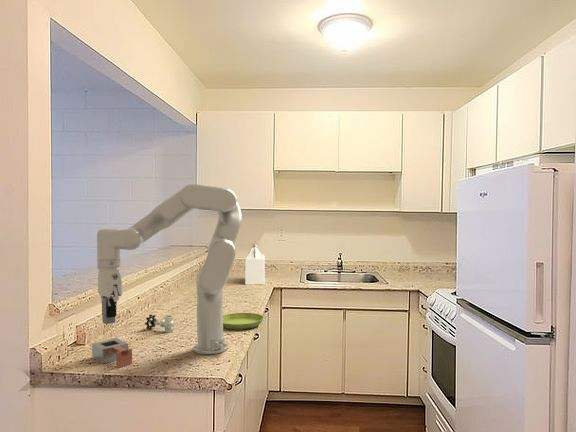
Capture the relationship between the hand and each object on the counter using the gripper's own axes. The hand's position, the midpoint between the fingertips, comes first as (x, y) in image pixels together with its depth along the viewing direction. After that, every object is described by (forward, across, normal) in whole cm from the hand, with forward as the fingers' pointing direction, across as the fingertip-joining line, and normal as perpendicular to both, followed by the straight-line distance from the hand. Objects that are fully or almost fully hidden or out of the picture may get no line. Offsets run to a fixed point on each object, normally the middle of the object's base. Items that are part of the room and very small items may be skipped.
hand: (109, 315), depth 157 cm
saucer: (+15, +1, -60) cm, 62 cm away
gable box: (+15, +80, -138) cm, 161 cm away
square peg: (+2, 0, 0) cm, 2 cm away
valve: (+15, +18, -30) cm, 38 cm away
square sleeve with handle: (+15, -4, 0) cm, 15 cm away
